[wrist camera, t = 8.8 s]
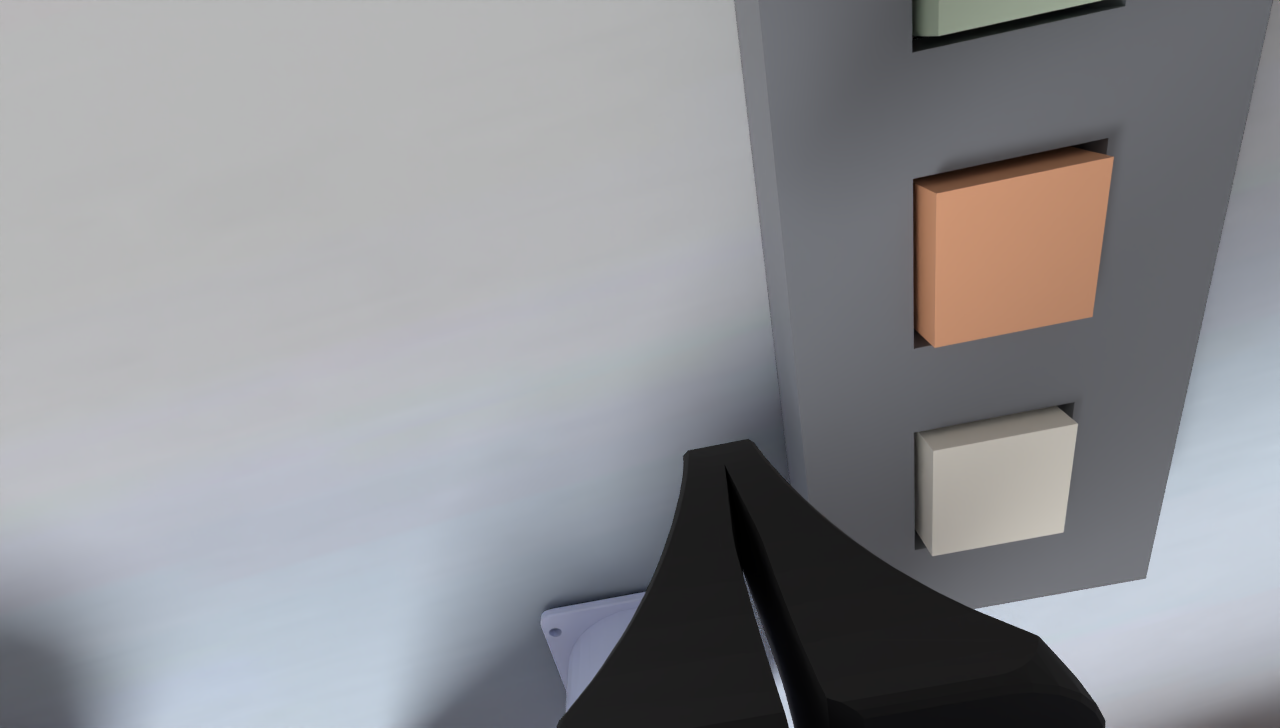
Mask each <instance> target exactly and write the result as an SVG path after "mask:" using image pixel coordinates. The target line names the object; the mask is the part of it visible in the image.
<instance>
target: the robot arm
mask: <svg viewBox="0 0 1280 728" xmlns="http://www.w3.org/2000/svg"><path fill="white" fill-rule="evenodd" d="M683 461H684V467H683V478H682V484H681V490H680V495H679V499H678V503H677V507H676V511H675V515H674V519H673V523H672V526H671V529H670V532H669V535H668V538H667V541H666V544H665V547H664V550H663V553H662V556H661V558H660V561H659V563H658V566H657V568H656V570H655V573H654V575H653V577H652V580H651V582H650V584H649V586H648V588H647V590H646V592H641V593H636V594H630V595H625V596H619V597H614V598H608V599H603V600H598V601H592V602H587V603H581V604H576V605H570V606H565V607H559V608H554V609H549V610H546V611H545V612H543V613H542V615H541V620H540V624H541V628H542V630H543V633H544V636H545V638H546V641H547V643H548V646H549V649H550V651H551V654H552V656H553V659H554V661H555V664H556V667H557V669H558V672H559V674H560V677H561V680H562V682H563V685H564V687H565V690H566V693H567V695H566V712H565V714H564V716H563V717H562V718H561V719H560V720H559V722H558V725H557V728H789V727H788V723H787V719H786V715H785V712H784V709H783V706H782V703H781V699H780V696H779V693H778V690H777V687H776V684H775V681H774V678H773V675H772V672H771V668H770V665H769V662H768V659H767V656H766V653H765V649H764V646H763V643H762V639H761V636H760V633H759V629H758V626H757V623H756V619H755V616H754V613H753V609H752V606H751V602H750V599H749V595H748V592H747V588H746V585H745V581H744V577H743V572H744V575H745V578H746V581H747V583H748V586H749V589H750V592H751V595H752V597H753V600H754V603H755V606H756V609H757V612H758V614H759V617H760V620H761V623H762V625H763V628H764V631H765V634H766V637H767V639H768V642H769V645H770V648H771V651H772V653H773V656H774V659H775V662H776V665H777V667H778V671H779V674H780V677H781V680H782V683H783V687H784V690H785V693H786V697H787V701H788V705H789V709H790V713H791V716H792V720H793V724H794V728H1105V719H1104V717H1103V715H1102V713H1101V712H1100V710H1099V708H1098V706H1097V704H1096V703H1095V702H1094V700H1093V699H1092V698H1091V696H1090V695H1089V693H1088V692H1087V691H1086V689H1085V688H1084V687H1083V685H1082V684H1081V683H1080V681H1079V680H1078V679H1077V678H1076V676H1075V675H1074V674H1073V673H1072V672H1071V671H1070V670H1069V669H1068V667H1067V666H1066V665H1065V664H1064V663H1063V662H1062V661H1061V660H1060V659H1059V657H1058V656H1057V655H1056V654H1055V653H1054V652H1053V651H1052V650H1051V649H1050V648H1049V647H1048V646H1047V645H1046V643H1045V642H1044V641H1043V640H1042V639H1041V638H1040V637H1039V636H1037V635H1035V634H1032V633H1030V632H1028V631H1025V630H1023V629H1020V628H1018V627H1015V626H1013V625H1010V624H1008V623H1005V622H1003V621H1000V620H998V619H996V618H993V617H991V616H988V615H986V614H983V613H981V612H978V611H976V610H974V609H972V608H969V607H967V606H965V605H963V604H961V603H959V602H957V601H955V600H953V599H951V598H949V597H947V596H945V595H943V594H941V593H938V592H937V591H935V590H933V589H931V588H929V587H928V586H926V585H924V584H922V583H920V582H919V581H917V580H915V579H913V578H912V577H910V576H908V575H906V574H905V573H903V572H901V571H899V570H898V569H896V568H894V567H893V566H891V565H890V564H888V563H887V562H885V561H883V560H882V559H880V558H879V557H877V556H876V555H874V554H873V553H871V552H870V551H869V550H867V549H866V548H864V547H863V546H861V545H860V544H859V543H857V542H856V541H854V540H853V539H852V538H850V537H849V536H848V535H847V534H845V533H844V532H843V531H841V530H840V529H839V528H838V527H836V526H835V525H834V524H833V523H832V522H830V521H829V520H828V519H827V518H826V517H824V516H823V515H822V514H821V513H820V512H819V511H817V510H816V509H815V508H814V507H813V506H812V505H811V504H810V503H809V502H807V501H806V500H805V499H804V498H803V497H802V496H801V495H800V494H799V493H798V492H797V491H796V490H795V489H794V488H793V487H792V486H791V485H790V484H789V483H788V482H787V481H786V480H785V479H784V478H783V477H782V476H781V475H780V474H779V472H778V471H777V470H776V469H775V468H774V467H773V466H772V465H771V464H770V462H769V461H768V460H767V459H766V458H765V456H764V455H763V454H762V453H761V451H760V450H759V449H758V447H757V446H756V445H755V443H754V442H752V441H751V440H749V439H746V440H741V441H736V442H730V443H725V444H720V445H715V446H710V447H704V448H699V449H694V450H689V451H687V452H686V454H685V455H684V456H683ZM742 569H743V570H742ZM553 628H558V629H553Z"/></svg>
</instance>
